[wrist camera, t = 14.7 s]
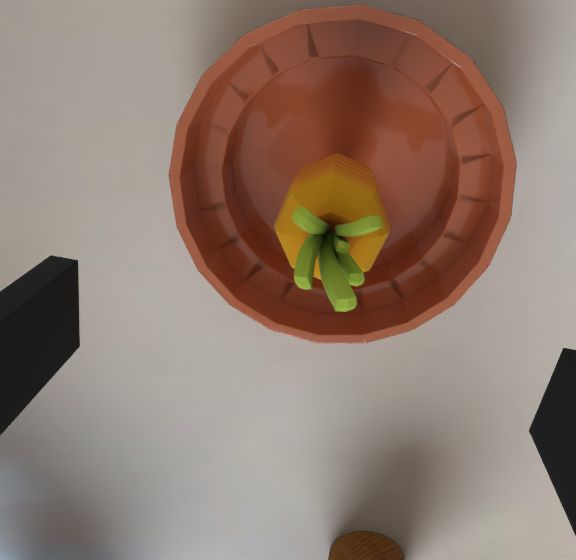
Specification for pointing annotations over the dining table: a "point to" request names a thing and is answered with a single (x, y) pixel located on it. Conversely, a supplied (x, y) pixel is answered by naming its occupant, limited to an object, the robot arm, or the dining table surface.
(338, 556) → the disposable coffee cup
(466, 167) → the bowl
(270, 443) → the dining table surface
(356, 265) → the carrot
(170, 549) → the dining table surface
